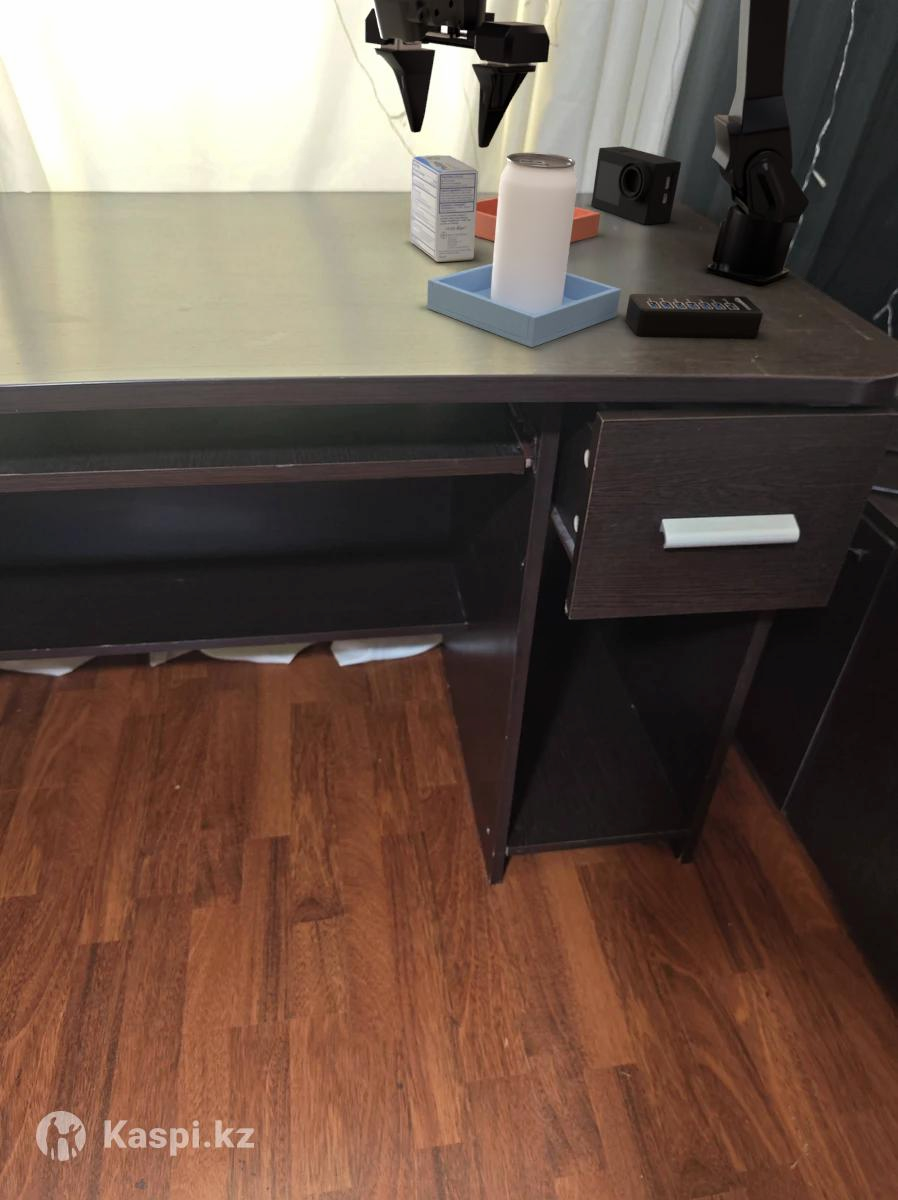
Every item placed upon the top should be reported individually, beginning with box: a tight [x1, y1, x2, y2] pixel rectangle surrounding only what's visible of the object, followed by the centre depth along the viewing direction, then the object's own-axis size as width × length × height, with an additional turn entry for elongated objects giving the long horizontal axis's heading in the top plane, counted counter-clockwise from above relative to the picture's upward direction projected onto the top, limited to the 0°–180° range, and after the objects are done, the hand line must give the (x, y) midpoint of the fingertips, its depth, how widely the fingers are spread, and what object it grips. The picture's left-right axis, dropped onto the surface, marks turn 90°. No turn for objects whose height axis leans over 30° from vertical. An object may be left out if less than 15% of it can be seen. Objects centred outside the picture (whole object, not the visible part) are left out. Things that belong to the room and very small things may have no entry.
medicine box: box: [410, 154, 479, 263], centre depth 89 cm, size 8×4×9 cm, turn 22°
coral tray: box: [475, 196, 601, 244], centre depth 99 cm, size 12×12×2 cm
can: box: [490, 152, 578, 315], centre depth 73 cm, size 6×6×12 cm
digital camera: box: [591, 145, 682, 226], centre depth 107 cm, size 10×5×7 cm, turn 33°
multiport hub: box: [624, 293, 764, 339], centre depth 75 cm, size 4×11×2 cm, turn 95°
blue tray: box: [426, 262, 622, 348], centre depth 76 cm, size 12×12×2 cm
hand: (448, 139), depth 84 cm, fingers open, 9 cm apart
